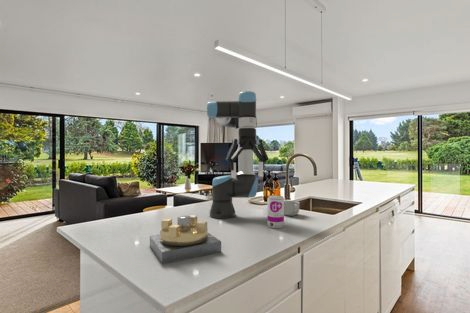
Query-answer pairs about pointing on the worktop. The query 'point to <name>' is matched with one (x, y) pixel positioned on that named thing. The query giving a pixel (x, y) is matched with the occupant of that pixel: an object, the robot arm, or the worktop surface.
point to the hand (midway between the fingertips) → (247, 177)
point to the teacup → (291, 208)
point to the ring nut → (183, 231)
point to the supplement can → (275, 211)
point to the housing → (184, 249)
